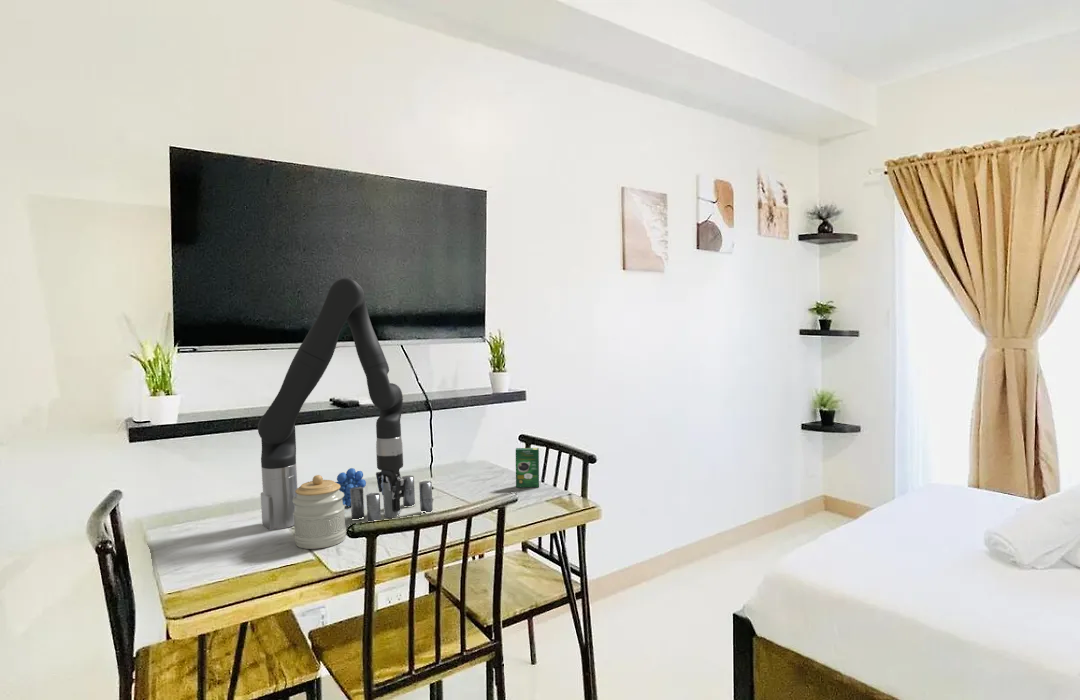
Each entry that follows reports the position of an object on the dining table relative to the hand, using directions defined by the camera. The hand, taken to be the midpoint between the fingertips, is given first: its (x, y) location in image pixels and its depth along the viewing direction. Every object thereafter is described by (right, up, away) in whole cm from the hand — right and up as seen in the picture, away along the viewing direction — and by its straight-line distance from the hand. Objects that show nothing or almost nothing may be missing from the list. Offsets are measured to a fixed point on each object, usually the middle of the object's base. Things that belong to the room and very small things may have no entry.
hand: (392, 509), depth 190 cm
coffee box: (+40, +1, +27) cm, 48 cm away
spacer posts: (0, -2, 0) cm, 2 cm away
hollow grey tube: (0, -2, 0) cm, 2 cm away
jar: (-14, -4, -20) cm, 25 cm away
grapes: (-16, -2, +11) cm, 20 cm away
